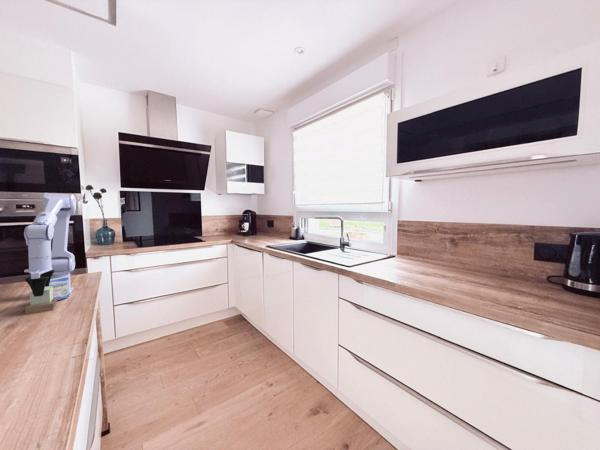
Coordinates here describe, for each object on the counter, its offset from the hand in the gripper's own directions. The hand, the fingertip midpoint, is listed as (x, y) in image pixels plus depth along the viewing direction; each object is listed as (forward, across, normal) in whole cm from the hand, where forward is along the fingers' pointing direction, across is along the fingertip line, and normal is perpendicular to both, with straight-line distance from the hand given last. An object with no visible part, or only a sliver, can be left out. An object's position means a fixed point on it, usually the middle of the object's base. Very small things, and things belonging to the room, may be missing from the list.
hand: (41, 293), depth 90 cm
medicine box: (+6, -8, +2) cm, 11 cm away
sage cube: (+3, 0, 0) cm, 4 cm away
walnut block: (+6, 0, 0) cm, 6 cm away
